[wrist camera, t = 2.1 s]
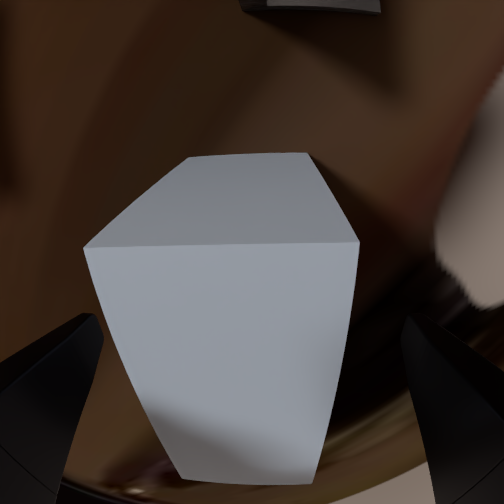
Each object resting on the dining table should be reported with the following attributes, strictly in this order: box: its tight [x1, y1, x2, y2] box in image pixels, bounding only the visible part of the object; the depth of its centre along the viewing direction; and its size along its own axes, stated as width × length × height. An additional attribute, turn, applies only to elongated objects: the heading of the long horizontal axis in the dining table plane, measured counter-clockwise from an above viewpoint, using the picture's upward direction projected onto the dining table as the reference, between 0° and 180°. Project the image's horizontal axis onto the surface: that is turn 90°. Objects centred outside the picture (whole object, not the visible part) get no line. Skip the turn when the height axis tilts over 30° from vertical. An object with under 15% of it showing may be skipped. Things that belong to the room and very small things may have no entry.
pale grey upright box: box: [83, 153, 360, 485], centre depth 9 cm, size 4×8×7 cm, turn 3°
